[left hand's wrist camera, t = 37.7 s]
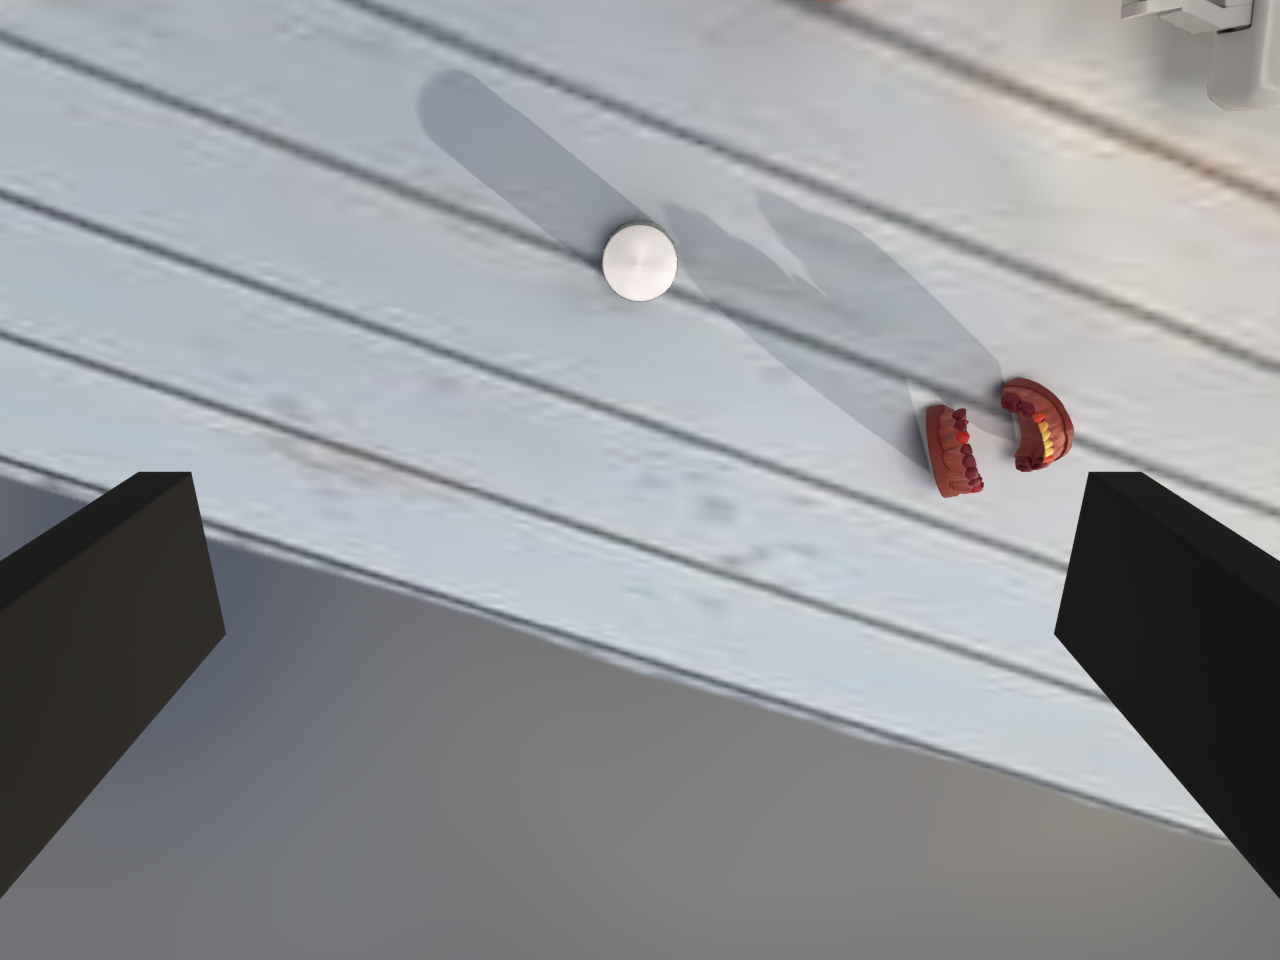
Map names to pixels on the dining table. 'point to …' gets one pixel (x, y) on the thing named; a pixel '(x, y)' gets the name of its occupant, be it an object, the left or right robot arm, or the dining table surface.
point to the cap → (639, 261)
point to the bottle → (829, 1)
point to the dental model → (1040, 446)
